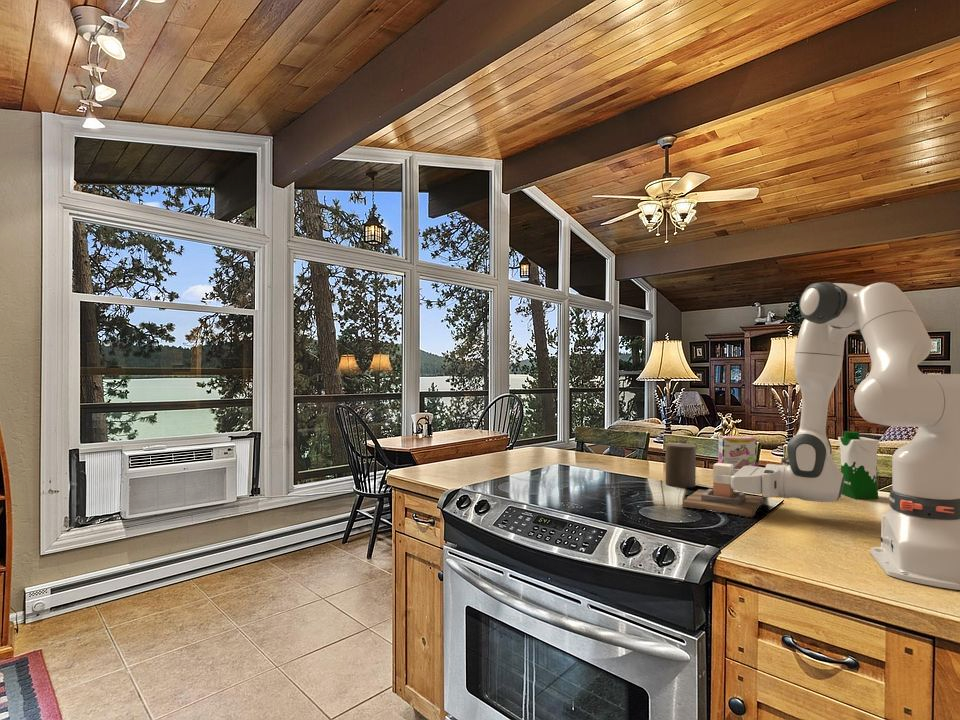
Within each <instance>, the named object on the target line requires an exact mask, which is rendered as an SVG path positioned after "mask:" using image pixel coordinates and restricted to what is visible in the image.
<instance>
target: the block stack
mask: <svg viewBox="0 0 960 720" xmlns="http://www.w3.org/2000/svg"><path fill="white" fill-rule="evenodd" d="M712 467H713V468H712V471H713V472H712V473H713V474H712V475H713V476H712V477H713V478H712V479H713V481H712V482H713V483H712V485H713V488H712V489H713V496H720V497H728V498H733V491H734V489H732V488H731V484H727V483H724V482H719V481H716V475H718V474H722V475H726V476H732V475H733V464H725V463H718V462H716V463H714V464H713V465H712Z"/></svg>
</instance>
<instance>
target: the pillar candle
mask: <svg viewBox="0 0 960 720" xmlns="http://www.w3.org/2000/svg"><path fill="white" fill-rule="evenodd" d="M696 448H697V447H696V445H695V444H692V443H684V442H683V443H682V442H681V441H679V442H668V443H665V484H666V485H667V484H668V485H667V486H670V485H671V487H674V486H678V487H677V488H695V487H696V483H697V482H696V477H697V476H696V472H697V471H696V468H697V466H696V465H697V464H696V463H697V462H696V458H697V455H696V451H697V449H696Z"/></svg>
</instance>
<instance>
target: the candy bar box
mask: <svg viewBox="0 0 960 720" xmlns="http://www.w3.org/2000/svg"><path fill="white" fill-rule="evenodd" d="M717 453H718V455H717V456H718V457H717V458H718V461H717V463H725V464H733V469H741V468H742V467H743V466H755V467H757V438H756V437H753V436H736V435H735V436H732V435H729V436H728V435H718V451H717Z"/></svg>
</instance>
